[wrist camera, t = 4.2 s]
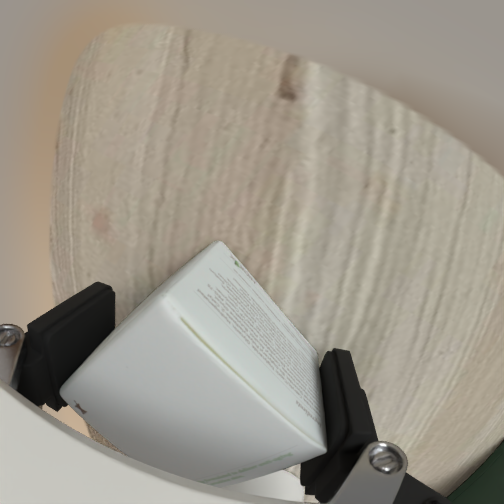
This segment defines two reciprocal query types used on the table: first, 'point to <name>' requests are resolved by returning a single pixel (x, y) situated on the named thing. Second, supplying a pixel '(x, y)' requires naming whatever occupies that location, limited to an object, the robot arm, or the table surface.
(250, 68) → the table surface
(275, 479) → the mug
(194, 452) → the small box
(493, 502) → the bin
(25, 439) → the robot arm
